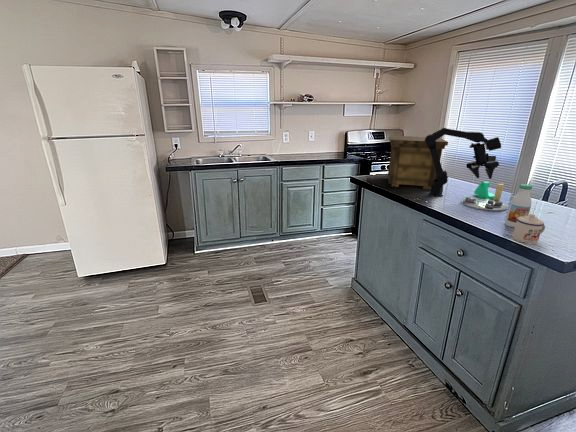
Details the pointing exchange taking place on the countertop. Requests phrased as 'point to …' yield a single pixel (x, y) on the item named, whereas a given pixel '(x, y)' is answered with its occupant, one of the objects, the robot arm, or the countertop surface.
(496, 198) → the tan post with disc
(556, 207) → the countertop surface
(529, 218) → the teacup with lid
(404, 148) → the crate
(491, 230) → the countertop surface
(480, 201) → the plate
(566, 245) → the countertop surface
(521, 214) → the milk bottle
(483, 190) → the camera mount
